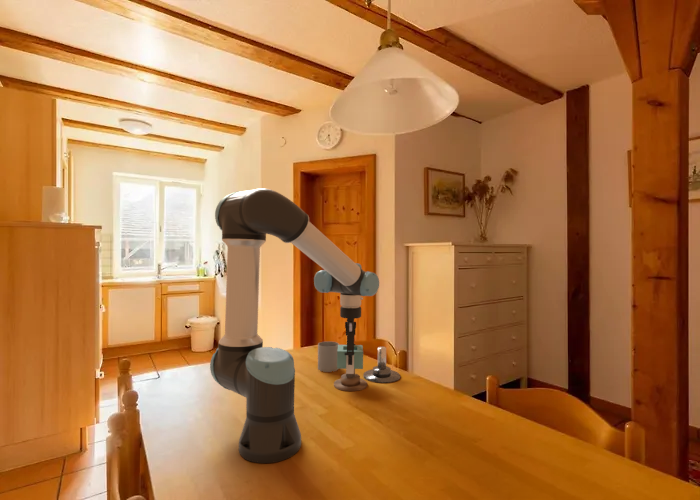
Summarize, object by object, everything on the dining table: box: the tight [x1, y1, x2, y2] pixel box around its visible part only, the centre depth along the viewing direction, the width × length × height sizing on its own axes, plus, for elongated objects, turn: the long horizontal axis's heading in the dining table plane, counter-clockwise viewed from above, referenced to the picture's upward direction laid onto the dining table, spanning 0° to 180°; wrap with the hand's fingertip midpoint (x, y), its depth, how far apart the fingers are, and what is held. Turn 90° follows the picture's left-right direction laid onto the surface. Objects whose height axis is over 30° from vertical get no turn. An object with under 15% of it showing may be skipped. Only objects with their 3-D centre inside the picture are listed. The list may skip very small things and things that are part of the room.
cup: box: [317, 341, 340, 373], centre depth 155 cm, size 8×8×10 cm
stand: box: [333, 369, 368, 392], centre depth 137 cm, size 12×12×11 cm
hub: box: [363, 346, 401, 384], centre depth 146 cm, size 14×14×11 cm
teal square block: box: [337, 344, 364, 370], centre depth 136 cm, size 9×9×6 cm
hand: (349, 369), depth 136 cm, fingers closed on teal square block, 9 cm apart
